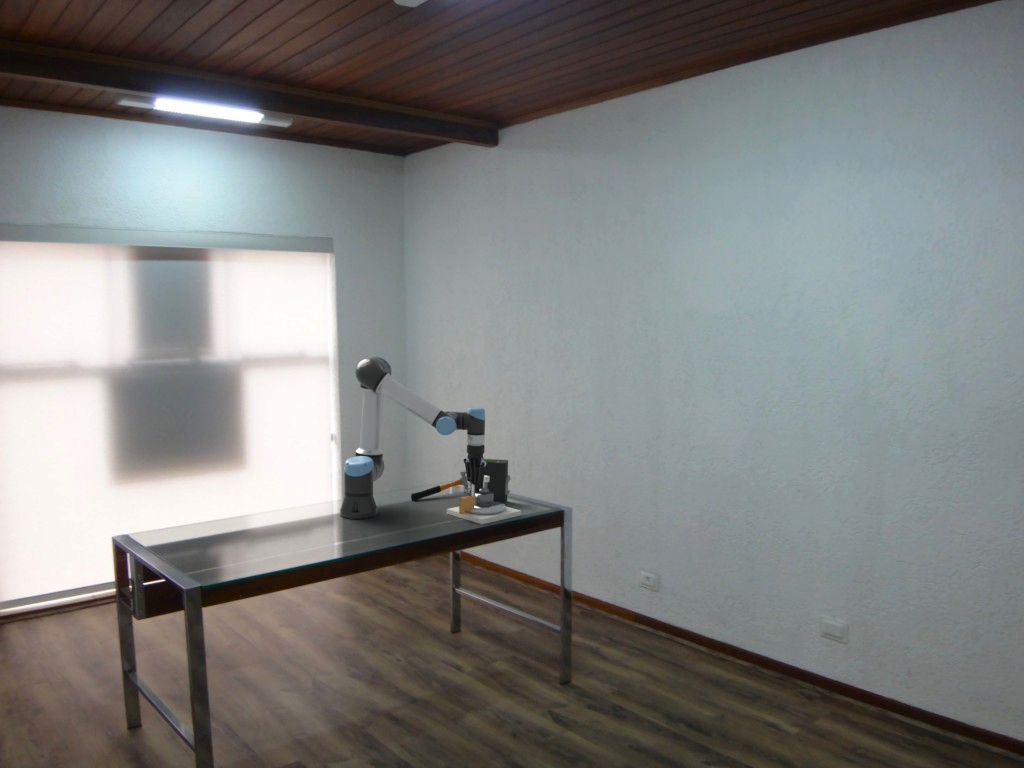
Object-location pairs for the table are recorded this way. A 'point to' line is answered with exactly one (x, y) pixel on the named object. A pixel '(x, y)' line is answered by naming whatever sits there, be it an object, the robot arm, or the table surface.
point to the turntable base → (485, 518)
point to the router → (497, 479)
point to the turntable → (468, 507)
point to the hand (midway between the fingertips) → (474, 498)
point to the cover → (483, 498)
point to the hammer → (442, 487)
